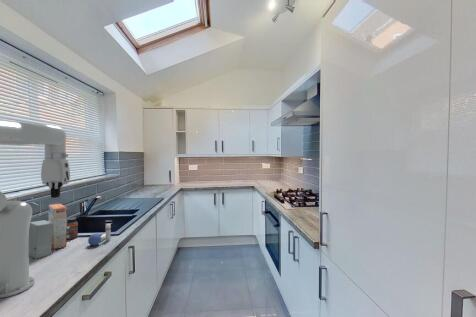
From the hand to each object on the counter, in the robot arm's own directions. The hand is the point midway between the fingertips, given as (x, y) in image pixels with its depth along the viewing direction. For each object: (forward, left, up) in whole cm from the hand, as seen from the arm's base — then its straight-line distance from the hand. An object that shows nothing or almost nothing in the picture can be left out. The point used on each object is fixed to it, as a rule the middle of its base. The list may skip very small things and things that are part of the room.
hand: (55, 197), depth 108 cm
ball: (+19, -7, -26) cm, 33 cm away
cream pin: (+24, -7, -28) cm, 37 cm away
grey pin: (+26, -10, -29) cm, 40 cm away
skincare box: (+7, +12, -29) cm, 32 cm away
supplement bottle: (+30, +12, -29) cm, 44 cm away
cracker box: (+20, +13, -29) cm, 38 cm away
